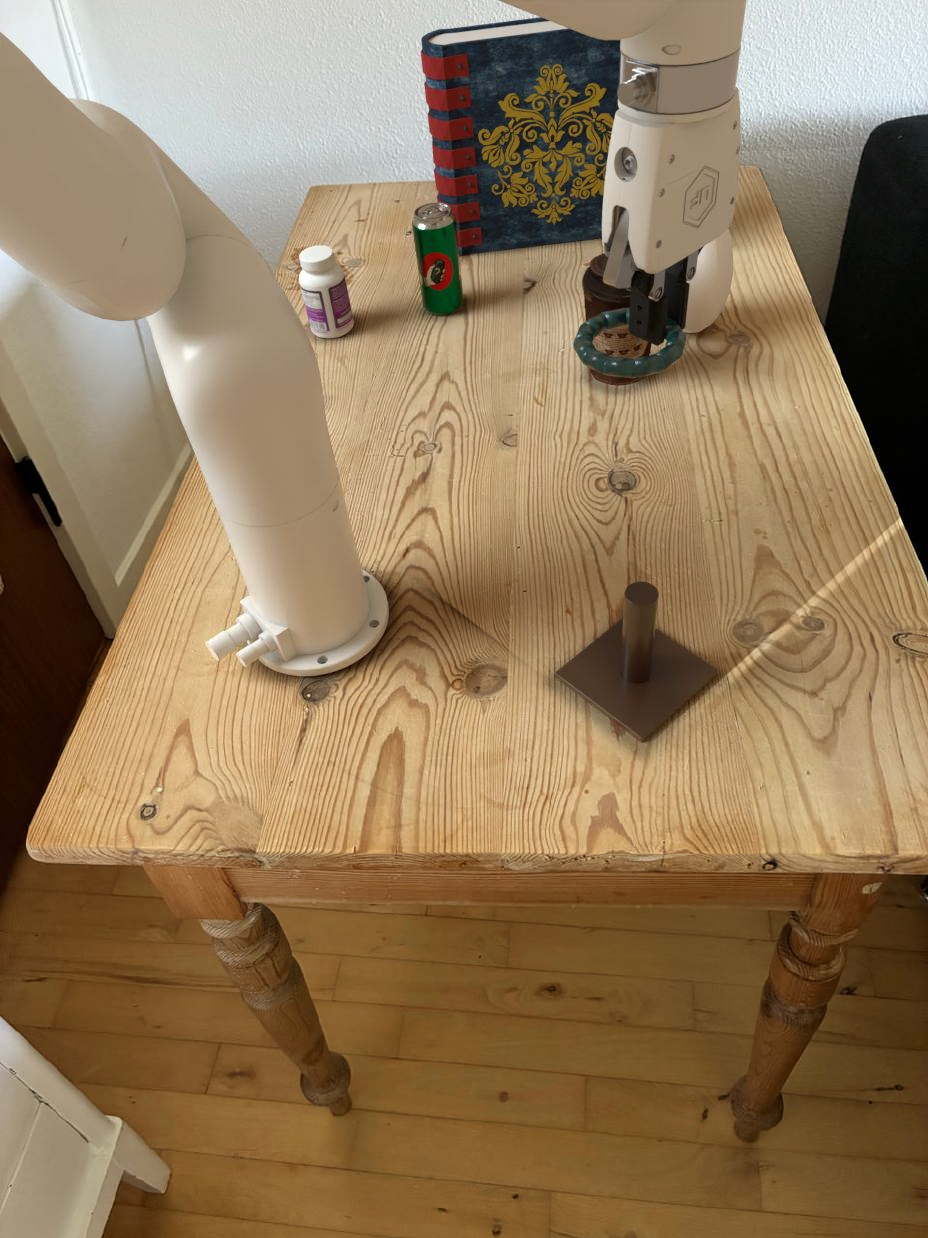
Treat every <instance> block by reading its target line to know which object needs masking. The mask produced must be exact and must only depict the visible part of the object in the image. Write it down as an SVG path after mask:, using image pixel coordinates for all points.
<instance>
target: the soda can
mask: <svg viewBox="0 0 928 1238" xmlns="http://www.w3.org/2000/svg"><path fill="white" fill-rule="evenodd" d="M411 226H412V235H413V241H414V242H413V243H414V250H415V257H416V264H417V273H418V280H419V288H420V295H421V302H422V308H424V309H425V311H427V313H429V314H431V315H433V316H439V317H440V316H449V315H452V314H454V313H456V312H458V311H459V310H460V308H461V307H462V306H463V304H464V302H465V300H464V291H463V279H462V270H461V260H460V255H459V248H458V237H457V227H456V217H455V215H454V214H453V213H452V209H451V207H450V206H449V205H447V204H445V203H437V201H435V202H428V203H424V204H422V205H420V206H418V207H416V208H415V210H414V212H413V218H412V220H411Z"/></svg>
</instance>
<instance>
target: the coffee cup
mask: <svg viewBox="0 0 928 1238" xmlns="http://www.w3.org/2000/svg"><path fill="white" fill-rule="evenodd" d="M607 261H608V257H607V256H606V255H605V253H604V252H603V253H602V254H598V255H596V256H594V257H592V259H590V262H589V266H588V267H587V268H586V270H585V271H584V274H583V275H582V281H581V283H582V289H583V299H584V300H583V303H584V307H583V308H584V317H585V322H586V321H588V320H590V319H591V318H593V317H594V316H596V315H598V314H599V313H602V312H607V311H612V310H617V309H622V308H630V291H629V290H627V289H626V288H615V287H613V286H611V285H608V284H606V283H604V282H603V275H604V272H605V268H606V264H607ZM641 271H643V272H645V270H643V269H641ZM645 273H646V274H647V275H648V276H649V273H647V272H645ZM585 322H584V323H585ZM593 345H594V347H595V348H596V350H598V351H601V352H603V353H605V354H607V355H609V356H611V357H621V358H632V359H634V358H639V357H644V356H649V355H651V351H652V345H653V344H651V343H649V342H647V341H645V340H642V339H640V338H638V337H636V336H633V335H631V334H630V333H629V330H628V326H625V327H620V328H615V329H610V330H606V331H604V332H603V333H601V334H599V335H598V336H596V337H595V338H594V340H593ZM589 372H590V374H591V375H592V376H593V378H594V379H595V380H596V381H598V382H600V383H602V384H606V385H610V386H615V387H616V386H618V387H620V386H627V385H632V384H634V383H638V382H640V381H642V380H643V379H644V378H646V377H647V376H642V377H637V378H627V377H616V376H607V375H604V374H602V373H600V372H598V371H596V370H593V369H591V368H589Z"/></svg>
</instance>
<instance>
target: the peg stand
mask: <svg viewBox="0 0 928 1238" xmlns="http://www.w3.org/2000/svg"><path fill="white" fill-rule="evenodd" d="M659 595H660V594H659V589H658V588H657V587H656V586H655V585H654V584H652V583H650V582H648V581H635V582H632V583H630V584H629V585H628V586H626V588H625V590H624V598H623V615H622V616H623V617H622V618H621V619H619V620H618V621H617V622H616V623H614V624H613V625H612V626H611V627H610V628H608V629H607V630H606V631H604V632H603V633H602V634H600V635H599V636H598V637H597V638H596V639H595V640H594V641H592V642H591V643H590V644H589V645H587V646H586V647H585V648H584V649H582V650H581V651H580V652H579V653H578V654H576V655H575V656H574V657H572V658H571V659H570V660H569V661H568V662H566V663H565V664H564V665H563V666H562V667H560V668H559V669H558V670H557V671H555V672H554V678H555V679H556V680H558V681H559V682H560V683H562V684H563V685H564V686H565V687H566V688H568V689H569V690H571V691H572V692H574V693H575V694H576V695H578V697H580V698H582V699H583V700H584V701H586V702H587V703H588V704H589V705H591V706H592V707H593V708H595V710H598V711H599V712H600V713H601V714H602V715H604V716H605V717H607V718H608V719H609V720H611V721H612V722H613V723H615V724H616V725H617V726H619V727H620V728H621V729H623V730H624V731H625V732H627V734H629V735H630V736H632V737H633V738H635V739H636V740H637V741H638V742H640V743H643V742H644V741H645V740H646V739H648V738H649V737H650V736H651V735H652V734H653V733H654V732H655V731H657V729H659V728H660V727H661V726H662V725H663V724H664V723H665V722H667V720H668V719H670V718H671V717H672V716H673V715H674V714H675V713H676V712H677V711H679V709H681V708H682V707H683V706H684V705H685V704H687V702H688V701H690V700H691V699H692V698H693V697H694V696H696V694H697V693H699V692H700V691H701V690H702V689H703V688H705V686H706V685H707V684H709V682H711V681H712V680H713V679H714V678H715V677H716V676H718V671H719V670H718V669H717V668H716V667H713V666H712V665H711V664H709V663H708V662H706V661H705V660H703V659H702V658H700V657H699V656H697V655H696V654H694V653H693V652H691V651H690V650H688V649H687V648H685V647H683V646H682V645H681V644H680V643H678V642H676V641H675V640H673V639H672V638H670V637H669V636H667V635H666V634H664V633H663V632H661V631H660V630H658V629H657V628H656V627H657V626H656V625H657V617H658V606H659V598H660V597H659Z"/></svg>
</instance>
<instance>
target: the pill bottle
mask: <svg viewBox="0 0 928 1238" xmlns="http://www.w3.org/2000/svg"><path fill="white" fill-rule="evenodd" d="M298 256H299V258H298V259H299V264H300V268H301V271H300V272H299V275H298V283H299V287H300V292H301V295H302V299H303V304H304V307H305V311H306V315H307V319H308V324H309V327H310V331H311V332H312V334H314V336H316V337H318V338H321V339H336V338H340V337H342V336H344V335H346V334H348V333H350V332H351V330H352V329H353V327H354V325H355V319H354V315H353V309H352V305H351V300H350V299H351V298H350V295H349V290H348V286H347V281H346V275H345V272H344V270H343V268H342V267H341V266H340V264H338V263H336V256H335V252H334V249H333V248H332V247H331V246H329V245H323V244H318V245H312V246H309V247H307V248H305V249H303V250H302V251H301V252H300V253H299V255H298Z"/></svg>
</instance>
